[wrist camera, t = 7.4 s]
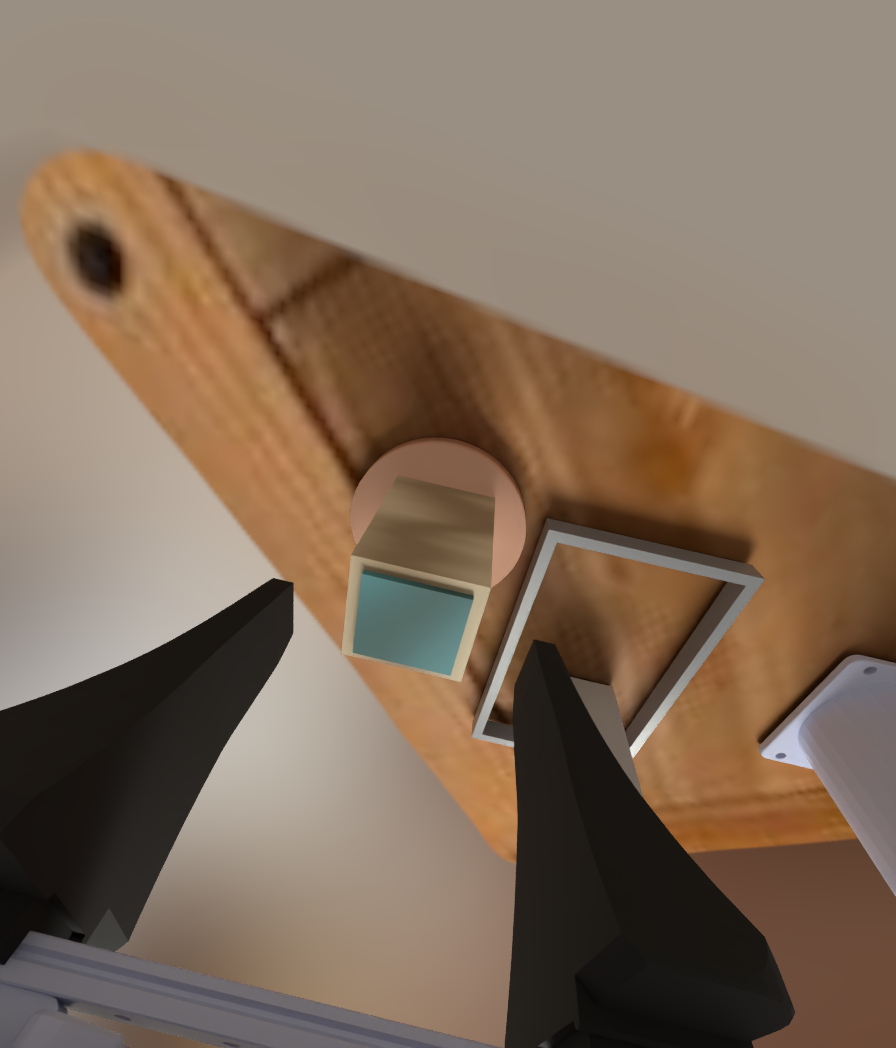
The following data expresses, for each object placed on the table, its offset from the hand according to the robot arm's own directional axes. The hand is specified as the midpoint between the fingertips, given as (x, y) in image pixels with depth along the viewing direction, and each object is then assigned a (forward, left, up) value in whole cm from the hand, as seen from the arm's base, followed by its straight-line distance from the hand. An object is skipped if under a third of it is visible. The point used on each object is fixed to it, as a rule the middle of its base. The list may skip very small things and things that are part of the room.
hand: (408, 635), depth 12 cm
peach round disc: (0, 0, -7) cm, 7 cm away
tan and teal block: (0, 0, -6) cm, 6 cm away
